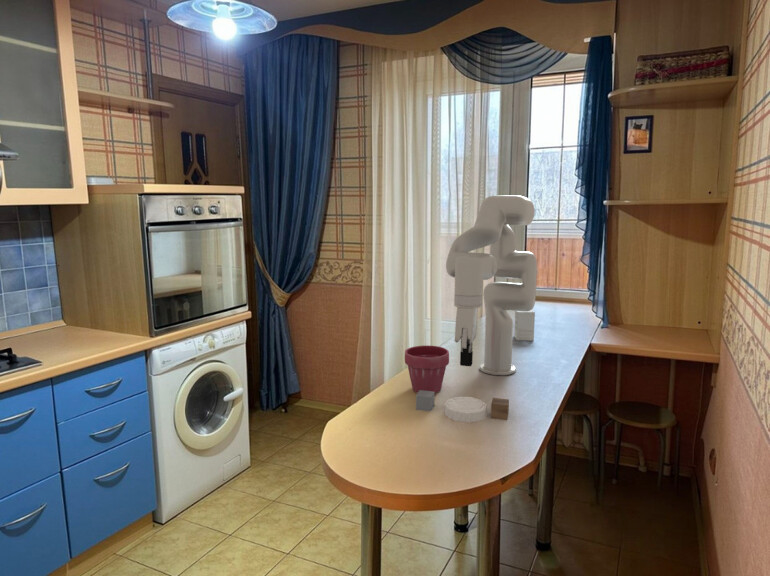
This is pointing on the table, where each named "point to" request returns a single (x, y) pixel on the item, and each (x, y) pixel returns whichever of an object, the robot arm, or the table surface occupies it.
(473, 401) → the mooncake
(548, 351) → the table surface
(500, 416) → the walnut block
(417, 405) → the slate-grey block
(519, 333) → the supplement box
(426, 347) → the plant pot
